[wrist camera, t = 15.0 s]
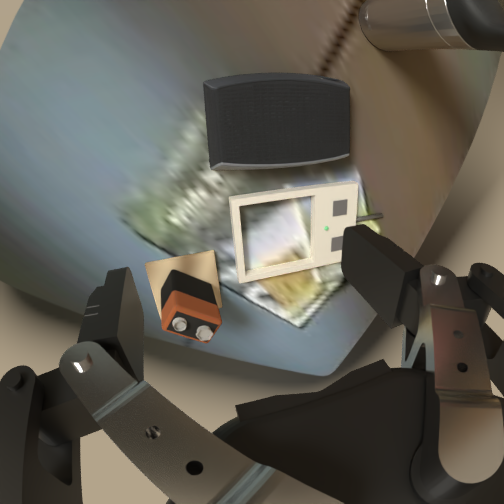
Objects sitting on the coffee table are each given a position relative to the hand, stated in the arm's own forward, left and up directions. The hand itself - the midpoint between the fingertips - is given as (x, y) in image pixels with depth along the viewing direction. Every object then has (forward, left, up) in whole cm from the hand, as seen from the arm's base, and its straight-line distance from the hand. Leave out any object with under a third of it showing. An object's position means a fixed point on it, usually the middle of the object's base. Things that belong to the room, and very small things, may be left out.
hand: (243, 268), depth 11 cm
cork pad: (+4, +20, -30) cm, 36 cm away
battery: (+3, +20, -30) cm, 36 cm away
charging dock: (-17, +14, -30) cm, 37 cm away
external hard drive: (-12, -2, -31) cm, 33 cm away
